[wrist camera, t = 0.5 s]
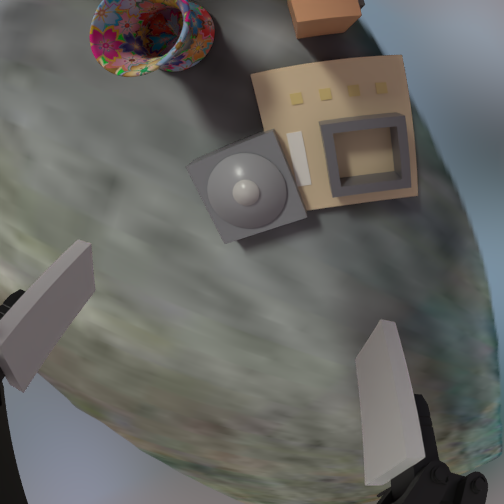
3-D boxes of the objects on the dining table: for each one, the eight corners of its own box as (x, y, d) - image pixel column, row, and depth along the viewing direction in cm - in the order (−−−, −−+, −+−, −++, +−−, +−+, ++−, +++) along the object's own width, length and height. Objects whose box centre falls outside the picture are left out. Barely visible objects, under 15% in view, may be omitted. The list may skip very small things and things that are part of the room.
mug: (236, 45, 29) (211, 32, 20) (166, 90, 32) (119, 98, 23) (182, -30, 24) (142, -60, 15) (118, 16, 27) (63, 6, 18)
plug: (288, 5, 26) (284, -22, 17) (340, -1, 24) (356, -29, 16) (297, 38, 28) (296, 22, 19) (349, 32, 26) (369, 14, 18)
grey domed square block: (193, 159, 36) (183, 168, 33) (274, 126, 33) (272, 131, 30) (229, 232, 40) (223, 246, 37) (306, 206, 37) (307, 219, 34)
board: (252, 74, 30) (245, 73, 27) (398, 55, 27) (411, 52, 23) (283, 210, 38) (281, 225, 34) (414, 192, 34) (426, 205, 30)
